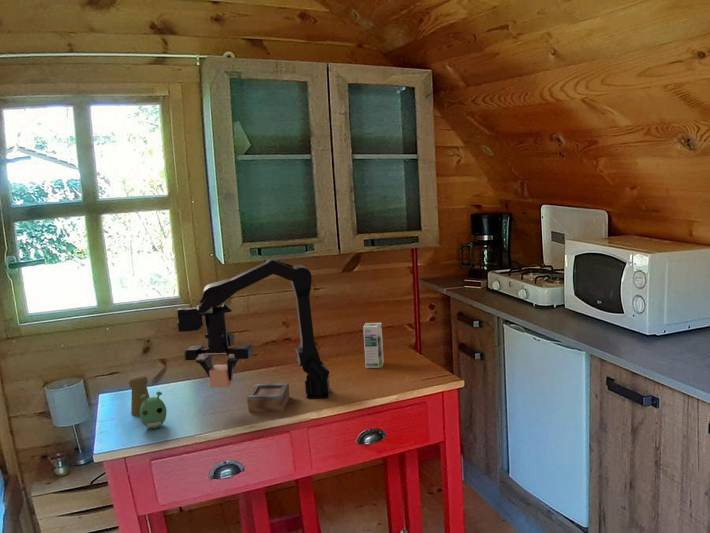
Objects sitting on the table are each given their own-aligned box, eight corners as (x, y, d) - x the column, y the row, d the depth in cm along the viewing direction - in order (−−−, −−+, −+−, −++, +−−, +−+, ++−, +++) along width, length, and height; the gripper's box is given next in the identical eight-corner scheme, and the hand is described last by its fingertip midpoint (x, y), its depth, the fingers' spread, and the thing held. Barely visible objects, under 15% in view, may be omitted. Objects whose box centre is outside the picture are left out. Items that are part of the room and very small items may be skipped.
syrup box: (365, 368, 201) (362, 326, 199) (367, 362, 207) (365, 322, 204) (382, 368, 200) (379, 326, 198) (384, 362, 206) (381, 321, 203)
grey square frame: (289, 398, 180) (288, 383, 179) (282, 412, 170) (281, 396, 169) (257, 399, 181) (255, 384, 180) (248, 412, 171) (247, 397, 170)
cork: (140, 417, 172) (135, 381, 170) (126, 413, 175) (122, 378, 173) (157, 409, 177) (152, 374, 175) (143, 406, 180) (139, 371, 178)
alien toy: (140, 435, 160) (136, 400, 158) (142, 424, 167) (137, 390, 165) (168, 431, 162) (163, 396, 160) (168, 420, 169) (164, 386, 167)
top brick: (233, 380, 175) (231, 364, 174) (227, 387, 170) (226, 370, 169) (216, 381, 175) (215, 364, 175) (210, 387, 171) (209, 370, 170)
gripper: (256, 319, 177) (260, 370, 179) (195, 321, 179) (200, 371, 182) (245, 330, 166) (250, 383, 168) (180, 332, 168) (186, 385, 171)
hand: (221, 380), depth 173 cm, fingers closed on top brick, 5 cm apart
